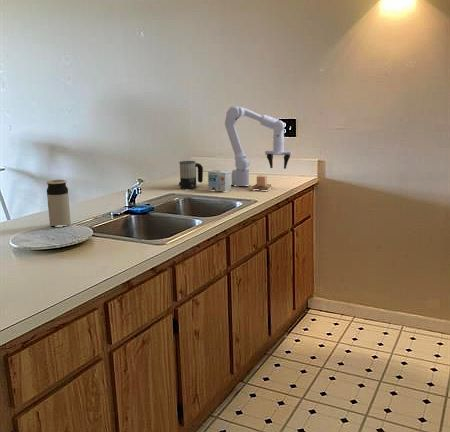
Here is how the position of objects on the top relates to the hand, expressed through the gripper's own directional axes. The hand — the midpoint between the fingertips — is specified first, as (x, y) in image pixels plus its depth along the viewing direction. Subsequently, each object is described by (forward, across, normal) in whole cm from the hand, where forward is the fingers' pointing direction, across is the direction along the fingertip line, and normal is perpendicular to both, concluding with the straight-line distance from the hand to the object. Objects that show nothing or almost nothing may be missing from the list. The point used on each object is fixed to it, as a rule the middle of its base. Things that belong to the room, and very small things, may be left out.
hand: (278, 168), depth 284 cm
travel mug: (+11, -62, -109) cm, 126 cm away
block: (+8, -6, -12) cm, 15 cm away
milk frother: (+11, -49, -15) cm, 52 cm away
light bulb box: (+11, -27, -20) cm, 35 cm away
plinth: (+10, -6, -11) cm, 16 cm away
